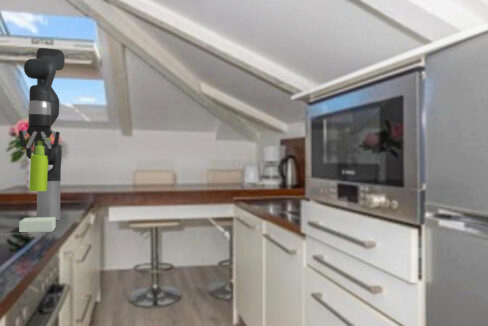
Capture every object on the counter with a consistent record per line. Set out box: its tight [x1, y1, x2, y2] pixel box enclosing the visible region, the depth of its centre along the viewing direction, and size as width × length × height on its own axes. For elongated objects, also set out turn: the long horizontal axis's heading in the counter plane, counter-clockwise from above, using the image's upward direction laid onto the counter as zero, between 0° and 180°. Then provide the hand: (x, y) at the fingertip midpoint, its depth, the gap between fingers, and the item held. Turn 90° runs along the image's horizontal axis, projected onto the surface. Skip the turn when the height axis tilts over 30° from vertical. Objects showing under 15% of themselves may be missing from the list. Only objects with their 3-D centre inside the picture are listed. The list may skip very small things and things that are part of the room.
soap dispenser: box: [28, 137, 53, 192], centre depth 153 cm, size 6×7×20 cm
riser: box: [18, 217, 57, 233], centre depth 154 cm, size 10×11×4 cm
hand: (39, 158), depth 153 cm, fingers closed on soap dispenser, 6 cm apart
